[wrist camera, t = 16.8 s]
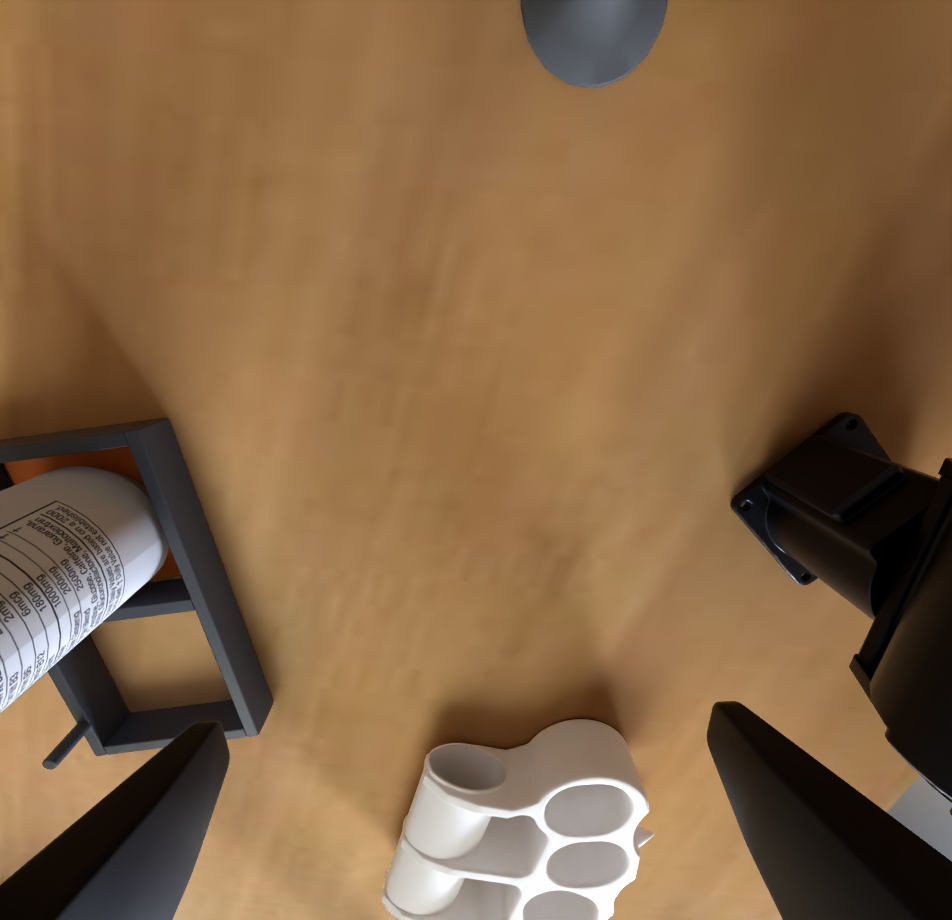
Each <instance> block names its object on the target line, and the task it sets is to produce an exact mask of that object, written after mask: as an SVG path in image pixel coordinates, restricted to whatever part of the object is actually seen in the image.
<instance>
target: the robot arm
mask: <svg viewBox="0 0 952 920" xmlns="http://www.w3.org/2000/svg"><path fill="white" fill-rule="evenodd" d="M848 421H849V425H848V426H847V427H845V425H846V423H847V422H848ZM938 474H940V475H942V476H941V478H940V479H938V478H936V477H933V476H930V475H927V474H925V473H922V472H919V471H916V470H914V469H911V468H908V467H905V466H903V465H900V464H897V463H895V462H892V461H891V460H890V458H889V457H888V456H887V454H886V453H885V451H884V450H883V448H882V447H881V445H880V444H879V443H878V441H877V440H876V438H875V437H874V435H873V434H872V432H871V431H870V429H869V428H868V427H867V425H866V424H865V422H864V421H863V419H862V418H861V417H860V416H859V415H857V414H853V413H849V412H844V413H841V414H839V415H838V416H836V417H835V418H834V419H833V420H831V421H830V422H829V423H827V424H826V425H825V426H824V427H822V428H821V429H820V430H819V431H817V432H816V433H815V434H813V435H812V436H811V437H810V438H808V439H807V440H806V441H804V442H803V443H802V444H801V445H799V446H798V447H797V448H795V449H794V450H793V451H792V452H790V453H789V454H788V455H786V456H785V457H784V458H783V459H781V460H780V461H779V462H778V463H776V464H775V465H774V466H772V467H771V468H770V469H769V470H767V471H766V472H765V473H763V474H762V475H761V476H760V477H758V478H757V479H756V480H754V481H753V482H752V483H751V484H749V485H748V486H747V487H745V488H744V489H743V490H742V491H740V492H739V493H738V494H736V495H735V496H734V497H733V498H732V500H731V508H732V510H733V511H734V512H735V513H736V514H737V515H738V516H739V518H740V519H741V520H742V521H743V522H744V523H745V525H746V526H747V527H748V528H749V529H750V530H751V532H752V533H753V534H754V535H755V536H756V537H757V539H758V540H759V541H760V542H761V543H762V544H763V545H764V547H765V548H766V549H767V550H768V551H769V552H770V554H771V555H772V556H773V557H774V558H775V559H776V561H777V562H778V563H779V564H780V565H781V566H782V568H783V569H784V570H785V571H786V572H787V573H788V574H789V576H790V577H791V578H792V579H793V580H794V581H796V582H797V583H798V584H800V585H808V584H810V583H811V582H813V581H814V580H816V579H817V578H819V579H820V580H822V581H823V582H824V583H826V584H827V585H828V586H830V587H831V588H832V589H834V590H835V591H836V592H837V593H839V594H840V595H841V596H843V597H844V598H845V599H847V600H848V601H849V602H851V603H852V604H853V605H854V606H856V607H857V608H858V609H860V610H861V611H862V612H864V613H865V614H866V615H868V616H869V617H870V618H871V619H873V620H874V622H873V624H872V626H871V628H870V630H869V632H868V635H867V637H866V639H865V641H864V643H863V645H862V648H861V650H860V652H859V654H855V655H854V657H853V659H852V661H851V663H850V665H849V667H850V669H851V671H852V672H853V674H854V675H855V677H856V679H857V680H858V682H859V683H860V685H861V686H862V688H863V690H864V691H865V693H866V694H867V696H868V698H869V699H870V701H871V702H872V704H873V705H874V707H875V709H876V710H877V712H878V713H879V715H880V717H881V718H882V720H883V722H884V724H885V725H886V726H887V730H886V732H885V737H886V739H887V740H888V742H889V743H890V744H891V746H892V747H893V748H894V749H895V750H896V751H897V752H898V753H899V754H900V755H901V756H902V757H903V758H904V760H905V761H906V762H907V763H908V764H909V765H910V766H911V767H912V768H913V769H914V770H916V771H917V772H918V773H919V774H920V775H921V776H922V777H923V778H924V779H925V780H926V781H927V782H928V783H929V784H930V785H931V786H932V787H934V789H936V790H937V791H938V792H939V793H941V794H942V795H943V796H944V797H945V798H947V799H948V800H949V801H950V802H952V459H951V458H945V460H944V462H943V464H942V467H941V469H940V471H939V473H938ZM745 501H746V504H745V505H744V506H743V507H741V504H742V503H743V502H745ZM804 573H805V574H804ZM803 574H804V575H803ZM707 742H708V746H709V749H710V752H711V755H712V757H713V760H714V762H715V765H716V768H717V770H718V773H719V775H720V778H721V780H722V783H723V786H724V788H725V791H726V793H727V796H728V798H729V801H730V804H731V806H732V809H733V811H734V814H735V816H736V819H737V822H738V824H739V827H740V829H741V832H742V834H743V837H744V839H745V841H746V844H747V846H748V848H749V850H750V853H751V855H752V857H753V859H754V861H755V863H756V865H757V867H758V869H759V871H760V874H761V876H762V878H763V880H764V882H765V884H766V886H767V888H768V890H769V892H770V894H771V896H772V898H773V900H774V902H775V904H776V906H777V908H778V910H779V912H780V914H781V917H782V919H783V920H952V862H951V861H950V860H949V859H947V858H946V857H945V856H944V855H942V854H941V853H940V852H938V851H937V850H936V849H934V848H933V847H932V846H930V845H929V844H928V843H926V842H925V841H923V840H922V839H921V838H920V837H918V836H917V835H916V834H914V833H913V832H912V831H910V830H909V829H908V828H906V827H905V826H903V825H902V824H901V823H900V822H898V821H897V820H896V819H894V818H893V817H892V816H890V815H889V814H888V813H886V812H885V811H884V810H882V809H881V808H880V807H878V806H877V805H876V804H874V803H873V802H872V801H870V800H869V799H868V798H866V797H865V796H864V795H862V794H861V793H860V792H858V791H857V790H856V789H854V788H853V787H852V786H850V785H849V784H848V783H846V782H845V781H844V780H842V779H841V778H840V777H838V776H837V775H836V774H834V773H833V772H832V771H830V770H829V769H828V768H826V767H825V766H824V765H822V764H821V763H820V762H818V761H817V760H816V759H814V758H813V757H812V756H810V755H809V754H808V753H806V752H805V751H804V750H802V749H801V748H800V747H798V746H797V745H796V744H794V743H793V742H792V741H790V740H789V739H788V738H787V737H785V736H784V735H783V734H781V733H780V732H779V731H777V730H776V729H775V728H773V727H772V726H771V725H769V724H768V723H767V722H765V721H764V720H763V719H761V718H760V717H759V716H757V715H756V714H755V713H753V712H752V711H751V710H749V709H748V708H747V707H745V706H744V705H742V704H741V703H739V702H736V701H726V702H716V703H715V704H714V705H713V708H712V713H711V717H710V722H709V726H708V731H707ZM229 758H230V754H229V749H228V745H227V741H226V737H225V734H224V730H223V726H222V724H221V723H220V722H219V721H198V722H195V723H193V724H192V725H190V726H189V727H188V728H187V729H185V730H184V731H183V732H182V733H181V734H179V735H178V736H177V737H176V738H175V739H174V740H172V741H171V742H170V743H169V744H168V745H166V746H165V747H164V748H163V749H162V750H160V751H159V752H158V753H157V754H156V755H154V756H153V757H152V758H151V759H150V760H149V761H147V762H146V763H145V764H144V765H143V766H141V767H140V768H139V769H138V770H137V771H135V772H134V773H133V774H132V775H131V776H130V777H128V778H127V779H126V780H125V781H124V782H122V783H121V784H120V785H119V786H118V787H116V788H115V789H114V790H113V791H112V792H110V793H109V794H108V795H107V796H106V797H105V798H103V799H102V800H101V801H100V802H99V803H97V804H96V805H95V806H94V807H93V808H91V809H90V810H89V811H88V812H87V813H85V814H84V815H83V816H82V817H81V818H80V819H78V820H77V821H76V822H75V823H74V824H72V825H71V826H70V827H69V828H68V829H66V830H65V831H64V832H63V833H62V834H60V835H59V836H58V837H57V838H56V839H55V840H53V841H52V842H51V843H50V844H49V845H47V846H46V847H45V848H44V849H43V850H41V851H40V852H39V853H38V854H37V855H35V856H34V857H33V858H32V859H31V860H30V861H28V862H27V863H26V864H25V865H24V866H22V867H21V868H20V869H19V870H18V871H16V872H15V873H14V874H13V875H12V876H11V877H9V878H8V879H7V880H6V881H5V882H3V883H2V884H1V885H0V920H172V919H173V917H174V914H175V912H176V910H177V907H178V905H179V903H180V900H181V898H182V896H183V894H184V891H185V889H186V886H187V884H188V881H189V879H190V877H191V874H192V872H193V869H194V866H195V863H196V861H197V858H198V855H199V852H200V849H201V846H202V843H203V840H204V837H205V834H206V831H207V828H208V825H209V822H210V820H211V817H212V814H213V811H214V808H215V805H216V802H217V799H218V796H219V793H220V790H221V787H222V784H223V781H224V778H225V775H226V772H227V769H228V765H229ZM950 813H951V815H952V808H951V810H950Z"/></svg>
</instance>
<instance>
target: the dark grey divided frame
mask: <svg viewBox="0 0 952 920" xmlns="http://www.w3.org/2000/svg"><path fill="white" fill-rule="evenodd" d="M125 446H129V448H130V450H131V453H132V455H133V458H134V460H135V463H136V465H137V468H138V470H139V472H140V475H141V477H142V480H143V482H144V485H145V487H146V490H147V492H148V495H149V497H150V499H151V502H152V504H153V507H154V509H155V512H156V514H157V517H158V519H159V522H160V524H161V526H162V529H163V531H164V534H165V536H166V539H167V541H168V544H169V546H170V549H171V551H172V553H173V556H174V558H175V561H176V563H177V566H178V568H179V571H180V573H181V575H182V578H183V579H175V580H168V581H160V582H152V583H145V584H144V585H143V586H142V587H141V588H140V589H139V590H138V591H136V592H135V593H134V594H133V595H132V596H131V597H130V598H129V599H127V600H126V601H125V602H124V603H123V604H122V605H121V606H120V607H118V608H117V609H116V610H115V611H114V612H113V613H112V614H111V615H109V616H108V617H107V618H106V619H105V620H104V621H103V622H110V621H117V620H125V619H133V618H140V617H148V616H156V615H163V614H171V613H179V612H186V611H194V610H196V612H197V615H198V617H199V620H200V622H201V625H202V627H203V629H204V632H205V634H206V637H207V639H208V642H209V644H210V647H211V649H212V651H213V654H214V656H215V659H216V661H217V664H218V666H219V669H220V671H221V674H222V676H223V678H224V681H225V683H226V686H227V688H228V691H229V693H230V696H231V698H232V700H230V701H222V702H214V703H206V704H198V705H191V706H183V707H175V708H167V709H160V710H152V711H144V712H136V713H129V712H128V710H127V708H126V706H125V704H124V702H123V700H122V698H121V696H120V694H119V692H118V690H117V688H116V686H115V684H114V682H113V680H112V679H111V677H110V675H109V673H108V671H107V669H106V667H105V665H104V663H103V661H102V659H101V657H100V655H99V653H98V651H97V649H96V647H95V646H94V644H93V642H92V640H91V638H90V636H89V634H88V635H87V636H86V637H85V638H84V639H83V640H81V641H80V642H79V643H78V644H77V645H76V646H75V647H74V648H72V649H71V650H70V651H69V652H68V653H67V654H66V655H65V656H63V657H62V658H61V659H60V660H59V661H58V662H57V663H56V664H55V665H53V666H52V667H51V668H50V669H49V670H48V673H49V675H50V677H51V678H52V680H53V682H54V684H55V685H56V687H57V689H58V691H59V692H60V694H61V696H62V698H63V699H64V701H65V703H66V705H67V706H68V708H69V710H70V711H71V713H72V715H73V717H74V718H75V720H76V722H77V725H76V726H75V727H74V728H73V729H72V730H71V731H70V732H69V733H68V735H67V736H66V737H65V738H64V739H63V740H62V741H61V742H60V743H59V744H58V745H57V747H56V748H55V749H54V750H53V751H52V752H51V753H50V754H49V755H48V756H47V758H46V759H45V760H44V761H43V763H42V764H43V766H44V767H45V768H47V769H54V768H56V767H57V766H58V765H59V763H60V762H61V761H62V760H63V759H64V758H65V757H66V755H67V754H68V753H69V752H70V751H71V750H72V749H73V747H74V746H75V745H76V744H77V743H78V742H79V740H80V739H81V738H82V737H83V736H85V738H86V739H87V741H88V743H89V745H90V746H91V748H92V750H93V752H94V753H95V755H96V756H101V755H107V754H108V755H109V754H117V753H125V752H133V751H141V750H149V749H156V748H164V747H165V746H166V745H168V744H169V743H170V742H171V741H172V740H174V739H175V738H176V737H177V736H178V735H179V734H181V733H182V732H183V731H184V730H185V729H187V728H188V727H189V726H190V725H192V724H193V723H195V722H198V721H219V722H220V723H221V724H222V726H223V730H224V734H225V737H226V740H227V739H235V738H243V737H251V736H258V735H259V733H260V731H261V729H262V727H263V725H264V722H265V720H266V718H267V716H268V714H269V712H270V710H271V707H272V705H273V700H272V697H271V695H270V692H269V689H268V686H267V684H266V681H265V678H264V676H263V673H262V670H261V668H260V665H259V662H258V659H257V657H256V654H255V651H254V649H253V646H252V643H251V640H250V638H249V635H248V632H247V630H246V627H245V624H244V621H243V619H242V616H241V613H240V611H239V608H238V605H237V602H236V600H235V597H234V594H233V592H232V589H231V586H230V583H229V581H228V578H227V575H226V573H225V570H224V567H223V564H222V562H221V559H220V556H219V554H218V551H217V548H216V545H215V543H214V540H213V537H212V535H211V532H210V529H209V526H208V524H207V521H206V518H205V516H204V513H203V510H202V507H201V505H200V502H199V499H198V497H197V494H196V491H195V488H194V486H193V483H192V480H191V478H190V475H189V472H188V469H187V467H186V464H185V461H184V459H183V456H182V453H181V450H180V448H179V445H178V442H177V440H176V437H175V434H174V431H173V429H172V426H171V423H170V421H169V418H161V419H155V420H146V421H139V422H131V423H124V424H117V425H109V426H102V427H95V428H87V429H80V430H72V431H65V432H58V433H50V434H43V435H35V436H28V437H21V438H13V439H6V440H0V491H2V490H5V489H7V488H10V487H12V484H11V483H10V481H9V479H8V477H7V475H6V473H5V471H4V469H3V467H2V465H1V463H6V462H14V461H21V460H29V459H36V458H43V457H51V456H58V455H66V454H73V453H81V452H88V451H95V450H103V449H110V448H118V447H125ZM44 674H45V673H44ZM44 674H43V675H44ZM43 675H42V676H43ZM42 676H41V677H42ZM35 682H36V681H35ZM35 682H34V683H35ZM34 683H33V684H34ZM33 684H32V685H33ZM32 685H31V686H32ZM26 690H27V689H26ZM26 690H25V691H26ZM25 691H24V692H25ZM24 692H23V693H24ZM23 693H22V694H23ZM16 699H17V698H16ZM16 699H15V700H16ZM15 700H14V701H15Z"/></svg>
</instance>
